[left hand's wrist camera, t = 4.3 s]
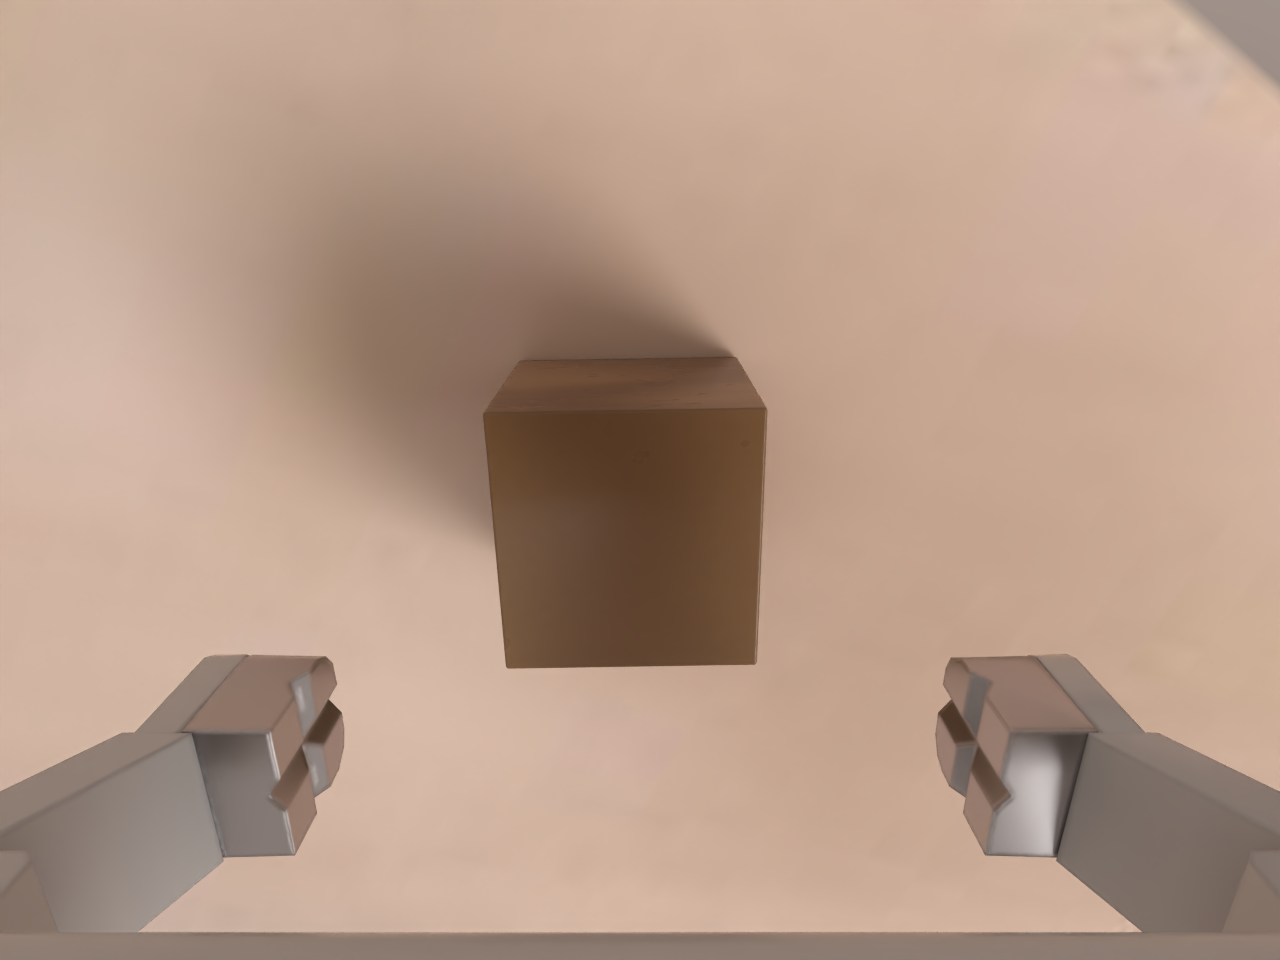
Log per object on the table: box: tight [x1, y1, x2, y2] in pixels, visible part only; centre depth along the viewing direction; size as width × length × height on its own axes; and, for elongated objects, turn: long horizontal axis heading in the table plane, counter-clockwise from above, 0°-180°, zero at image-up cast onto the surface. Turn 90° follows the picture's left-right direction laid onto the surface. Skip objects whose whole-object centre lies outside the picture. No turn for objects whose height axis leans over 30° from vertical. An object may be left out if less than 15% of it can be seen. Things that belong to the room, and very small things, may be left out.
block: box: [483, 357, 767, 668], centre depth 16 cm, size 5×5×4 cm
